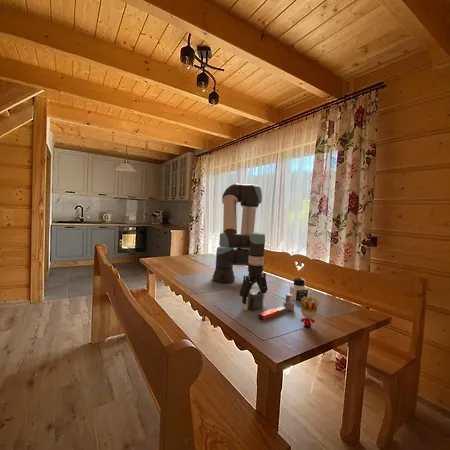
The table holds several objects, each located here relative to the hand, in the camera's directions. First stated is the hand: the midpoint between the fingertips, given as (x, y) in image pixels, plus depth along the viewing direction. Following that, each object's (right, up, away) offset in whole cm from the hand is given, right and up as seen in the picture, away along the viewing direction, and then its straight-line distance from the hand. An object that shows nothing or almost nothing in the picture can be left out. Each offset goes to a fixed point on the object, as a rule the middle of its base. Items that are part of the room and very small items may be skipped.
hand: (253, 307), depth 130 cm
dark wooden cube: (0, 0, 0) cm, 0 cm away
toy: (+22, -3, -18) cm, 28 cm away
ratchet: (+11, -1, -6) cm, 13 cm away
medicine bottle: (+27, -1, +15) cm, 31 cm away
